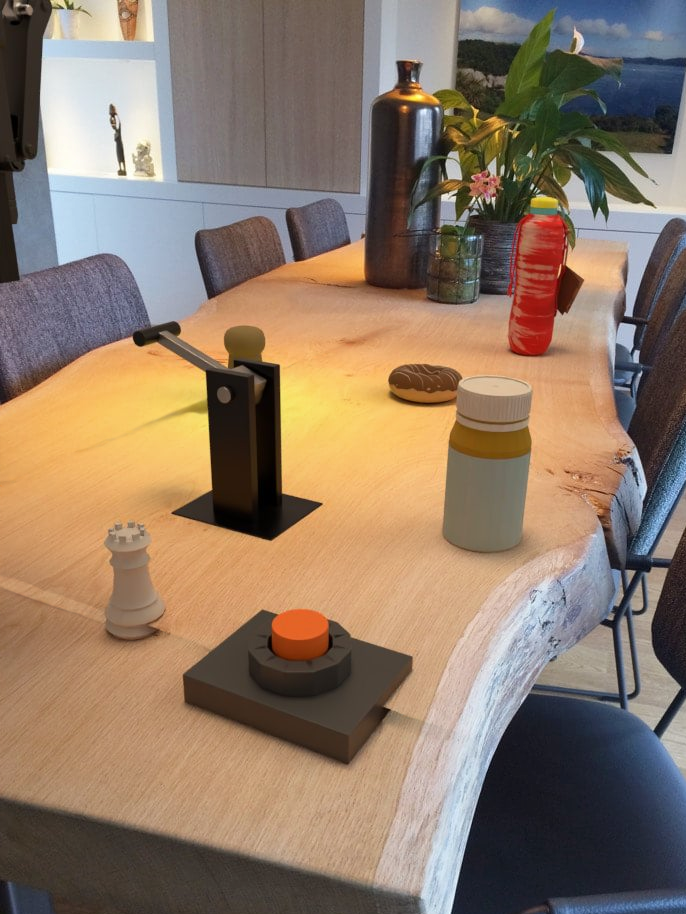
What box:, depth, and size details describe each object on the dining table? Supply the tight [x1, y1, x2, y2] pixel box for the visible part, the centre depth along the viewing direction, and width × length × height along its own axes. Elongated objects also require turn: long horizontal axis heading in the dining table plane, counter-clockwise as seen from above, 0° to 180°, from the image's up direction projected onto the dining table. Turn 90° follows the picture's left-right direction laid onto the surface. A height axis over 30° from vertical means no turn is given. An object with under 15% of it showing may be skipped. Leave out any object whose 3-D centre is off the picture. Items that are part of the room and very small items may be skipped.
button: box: [272, 608, 329, 661], centre depth 53 cm, size 4×4×2 cm
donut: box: [387, 363, 463, 404], centre depth 116 cm, size 11×11×4 cm
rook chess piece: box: [103, 520, 166, 641], centre depth 60 cm, size 4×4×8 cm
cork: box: [223, 324, 266, 370], centre depth 106 cm, size 6×6×11 cm
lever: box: [132, 320, 267, 405], centre depth 74 cm, size 12×5×2 cm, turn 63°
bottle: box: [441, 374, 534, 554], centre depth 72 cm, size 7×7×15 cm
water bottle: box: [506, 196, 585, 356], centre depth 137 cm, size 12×8×25 cm, turn 91°
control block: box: [182, 609, 414, 765], centre depth 54 cm, size 12×9×4 cm
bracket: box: [170, 358, 324, 542], centre depth 75 cm, size 11×9×15 cm
